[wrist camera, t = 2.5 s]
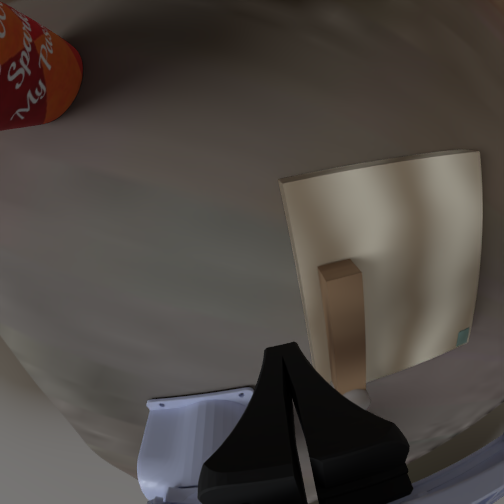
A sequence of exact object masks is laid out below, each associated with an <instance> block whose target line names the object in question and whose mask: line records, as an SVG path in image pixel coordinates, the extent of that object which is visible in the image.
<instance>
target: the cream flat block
mask: <svg viewBox="0 0 504 504" xmlns="http://www.w3.org/2000/svg"><path fill="white" fill-rule="evenodd" d="M278 182H279V187H280V191H281V196H282V201H283V206H284V210H285V215H286V220H287V225H288V230H289V235H290V240H291V245H292V250H293V255H294V261H295V266H296V271H297V276H298V282H299V287H300V293H301V298H302V304H303V310H304V315H305V321H306V327H307V333H308V339H309V345H310V352H311V358H312V364H313V367H314V369H315V370H316V371H317V372H318V373H319V374H320V375H321V376H322V377H323V378H324V379H325V380H326V381H327V382H328V383H329V384H330V382H331V380H332V379H331V369H330V359H329V350H328V342H327V334H326V325H325V318H324V310H323V303H322V296H321V289H320V282H319V275H318V269H317V267H318V266H322V265H326V264H330V263H334V262H338V261H342V260H346V259H351V261H352V262H353V263H354V264H355V265H356V266H357V267H358V268H359V270H360V271H361V272H362V279H363V293H364V310H365V336H366V382H369V381H372V380H376V379H379V378H381V377H384V376H387V375H390V374H393V373H396V372H399V371H401V370H404V369H407V368H409V367H412V366H414V365H417V364H420V363H422V362H425V361H427V360H429V359H432V358H434V357H437V356H439V355H441V354H444V353H446V352H448V351H450V350H453V349H455V348H457V347H459V346H461V345H463V344H465V343H468V341H469V336H470V331H471V326H472V321H473V315H474V309H475V303H476V296H477V289H478V280H479V271H480V260H481V246H482V219H483V201H482V174H481V160H480V151H474V150H467V149H457V150H448V151H440V152H432V153H424V154H417V155H410V156H403V157H396V158H390V159H383V160H377V161H371V162H365V163H359V164H353V165H348V166H342V167H337V168H331V169H326V170H321V171H316V172H311V173H306V174H301V175H296V176H291V177H287V178H282V179H278Z"/></svg>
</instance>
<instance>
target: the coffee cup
mask: <svg viewBox="0 0 504 504" xmlns="http://www.w3.org/2000/svg"><path fill="white" fill-rule="evenodd" d="M82 77H83V63H82V59H81V56H80V54H79V53H78V51H77V50H76V49H75V48H74V47H73V46H72V45H71V44H69V43H68V42H67V41H65V40H64V39H62V38H61V37H59V36H58V35H56V34H55V33H53V32H52V31H50V30H49V29H47V28H45V27H44V26H42V25H41V24H39V23H37V22H36V21H34V20H32V19H31V18H29V17H27V16H25V15H24V14H22V13H20V12H19V11H17V10H15V9H13V8H12V7H10V6H8V5H6V4H4V3H3V2H1V1H0V131H1V130H7V129H14V128H21V127H28V126H35V125H41V124H45V123H49V122H51V121H53V120H55V119H57V118H58V117H60V116H61V115H62V114H63V113H64V112H65V111H66V110H67V109H68V108H69V107H70V105H71V104H72V102H73V101H74V99H75V97H76V95H77V93H78V91H79V88H80V86H81V82H82Z"/></svg>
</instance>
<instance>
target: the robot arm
mask: <svg viewBox="0 0 504 504" xmlns="http://www.w3.org/2000/svg"><path fill="white" fill-rule="evenodd" d="M240 393H244V394H240ZM292 399H293V402H294V405H295V408H296V411H297V414H298V417H299V420H300V424H301V427H302V430H303V433H304V436H305V440H306V443H307V448H308V453H309V457H310V462H311V467H312V472H313V477H314V482H315V487H316V491H317V496H318V501H319V504H493V503H494V502H496V501H497V500H499V499H500V498H501V497H503V496H504V433H503V435H501V436H500V437H498V438H497V439H495V440H494V441H492V442H491V443H489V444H487V445H486V446H484V447H483V448H481V449H479V450H477V451H476V452H474V453H472V454H471V455H469V456H467V457H465V458H464V459H462V460H460V461H458V462H456V463H454V464H452V465H450V466H449V467H447V468H445V469H443V470H441V471H439V472H437V473H434V474H433V475H430V476H428V477H426V478H424V479H421V480H419V481H417V482H414V483H412V484H411V481H410V479H409V477H408V474H407V473H408V468H407V466H406V463H405V461H406V458H407V455H408V452H409V444H408V441H407V439H406V438H405V436H404V435H403V433H402V432H401V431H400V429H399V428H398V427H397V426H396V425H395V424H394V423H392V422H390V421H387V420H385V419H383V418H380V417H378V416H376V415H374V414H372V413H370V412H368V411H366V410H365V409H363V408H361V407H360V406H358V405H356V404H355V403H353V402H352V401H350V400H349V399H347V398H346V397H345V396H343V395H342V394H341V393H339V392H338V391H337V390H336V389H334V388H333V387H332V386H331V385H330V384H329V383H328V382H327V381H326V380H325V379H324V378H323V377H322V376H321V375H320V374H319V373H318V372H317V371H316V370H315V369H314V367H313V366H312V365H311V364H310V363H309V361H308V360H307V359H306V357H305V356H304V355H303V353H302V352H301V350H300V348H299V346H298V344H297V343H296V342H291V343H287V344H283V345H278V346H274V347H269V348H266V349H265V350H264V359H263V364H262V368H261V372H260V375H259V378H258V381H257V384H256V387H255V389H254V390H253V389H252V388H250V387H245V388H239V389H233V390H227V391H221V392H214V393H207V394H200V395H192V396H183V397H174V398H163V399H152V400H148V401H147V407H148V408H149V410H150V413H149V416H148V420H147V424H146V428H145V432H144V436H143V440H142V444H141V448H140V452H139V456H138V462H137V474H138V481H139V484H140V487H141V490H142V492H143V493H144V495H145V496H146V498H147V499H148V500H149V501H148V502H147V504H308V503H307V498H306V493H305V488H304V483H303V477H302V472H301V467H300V462H299V456H298V451H297V446H296V438H295V426H294V415H293V403H292Z"/></svg>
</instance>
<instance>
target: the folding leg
mask: <svg viewBox="0 0 504 504" xmlns="http://www.w3.org/2000/svg"><path fill="white" fill-rule="evenodd" d="M317 269H318V275H319V282H320V289H321V296H322V303H323V310H324V318H325V325H326V334H327V342H328V350H329V359H330V369H331V379H332V380H331V382H330V385H331V386H332V387H333V388H334V389H336V390H337V391H338V392H339V393H341V394H342V395H343V396H345V397H346V398H347V399H349V400H350V401H352V402H353V403H355V404H356V405H358V406H360V407H361V408H363V409H365V410H366V409H367V408H368V407H369V406H370V403H371V400H370V397H369V395H368V393H367V391H366V336H365V310H364V293H363V279H362V272H361V271H360V270H359V268H358V267H357V266H356V265H355V264H354V263H353V262H352V261H351V259H346V260H342V261H338V262H334V263H330V264H326V265H322V266H318V267H317Z"/></svg>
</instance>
